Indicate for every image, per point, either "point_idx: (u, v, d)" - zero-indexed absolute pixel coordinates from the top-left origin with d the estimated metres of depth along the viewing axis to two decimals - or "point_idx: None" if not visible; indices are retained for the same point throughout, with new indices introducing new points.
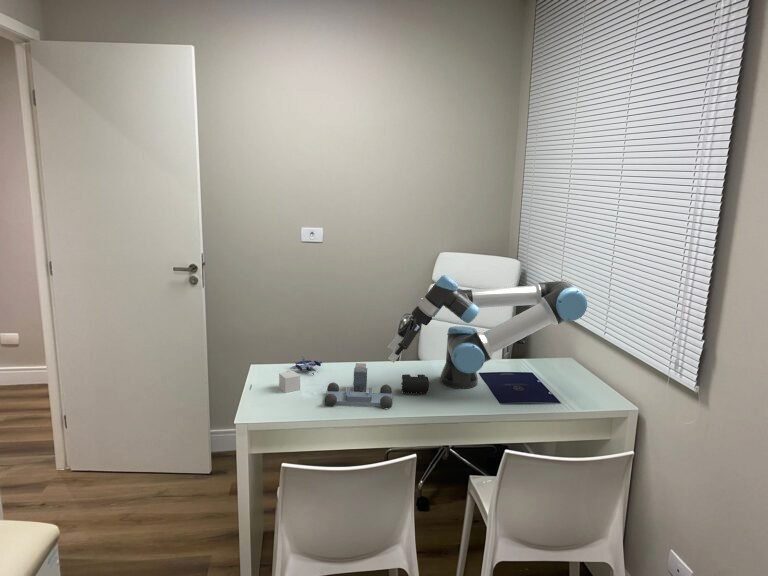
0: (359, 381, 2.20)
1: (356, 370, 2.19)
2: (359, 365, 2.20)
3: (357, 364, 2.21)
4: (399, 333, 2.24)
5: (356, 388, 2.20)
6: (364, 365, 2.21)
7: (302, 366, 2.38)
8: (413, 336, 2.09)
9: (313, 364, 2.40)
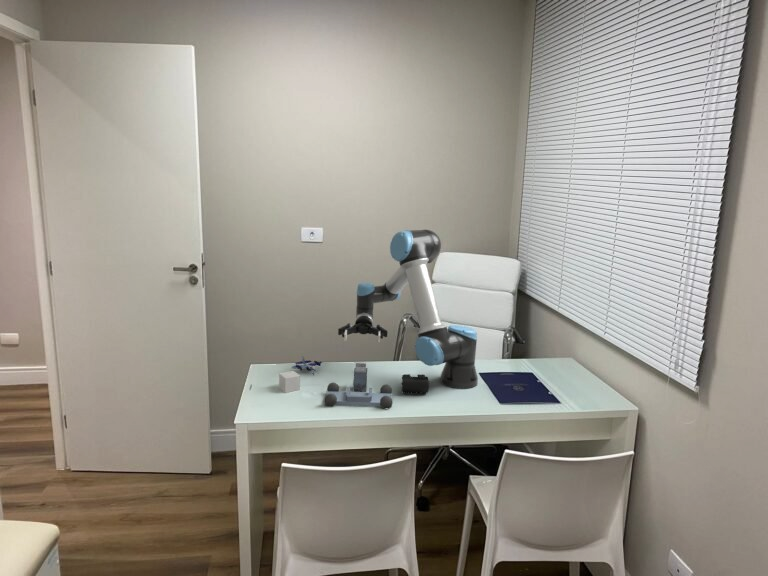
0: (359, 381, 2.20)
1: (356, 370, 2.19)
2: (359, 365, 2.20)
3: (357, 364, 2.21)
4: None
5: (356, 388, 2.20)
6: (364, 365, 2.21)
7: (302, 366, 2.38)
8: None
9: (313, 364, 2.40)
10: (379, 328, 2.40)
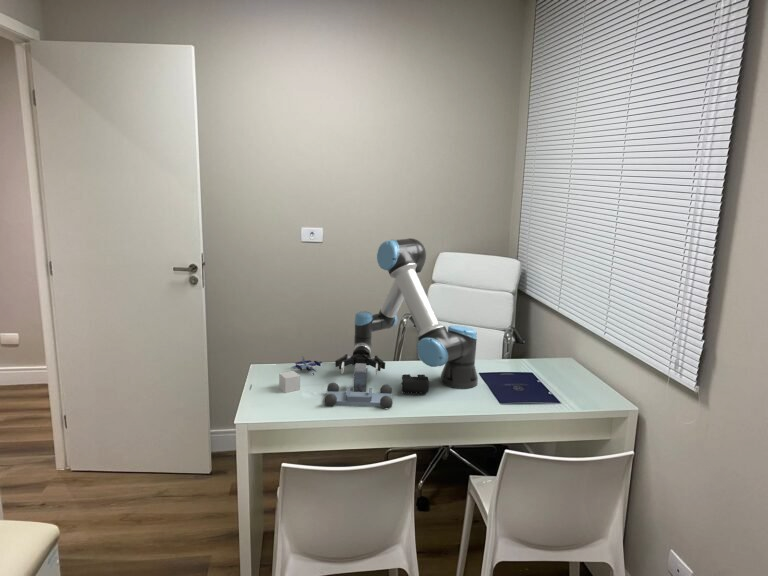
0: (359, 381, 2.20)
1: (356, 370, 2.19)
2: (359, 365, 2.20)
3: (357, 364, 2.21)
4: None
5: (356, 388, 2.20)
6: (364, 365, 2.21)
7: (302, 366, 2.38)
8: None
9: (313, 364, 2.40)
10: (377, 359, 2.37)
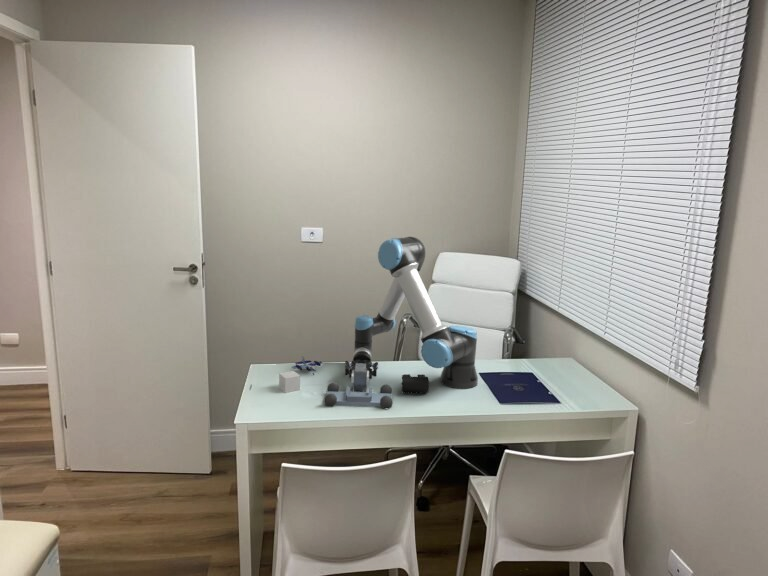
0: (359, 381, 2.20)
1: (356, 370, 2.19)
2: (359, 365, 2.20)
3: (357, 364, 2.21)
4: None
5: (356, 388, 2.20)
6: (364, 365, 2.21)
7: (302, 366, 2.38)
8: (345, 365, 2.29)
9: (313, 364, 2.40)
10: (373, 366, 2.29)
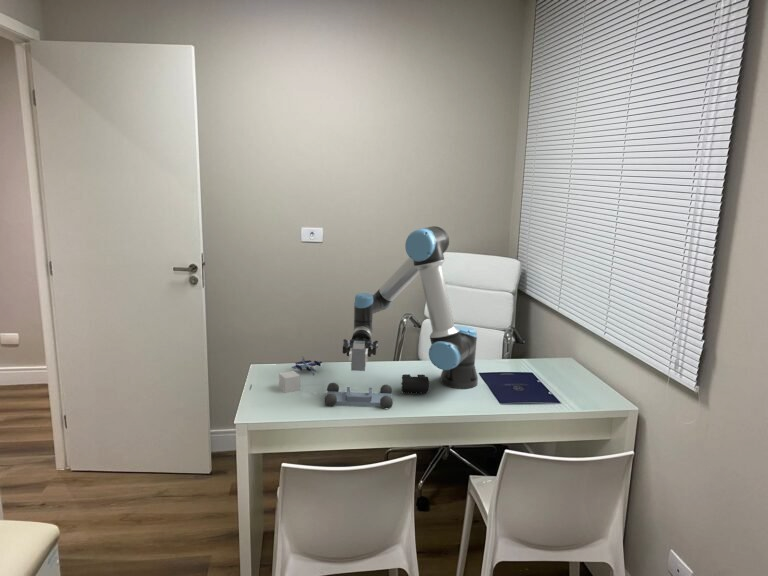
0: (357, 359, 2.08)
1: (354, 347, 2.08)
2: (357, 342, 2.09)
3: (355, 341, 2.10)
4: None
5: (354, 367, 2.09)
6: (363, 342, 2.09)
7: (302, 366, 2.38)
8: (344, 344, 2.18)
9: (313, 364, 2.40)
10: (373, 344, 2.17)
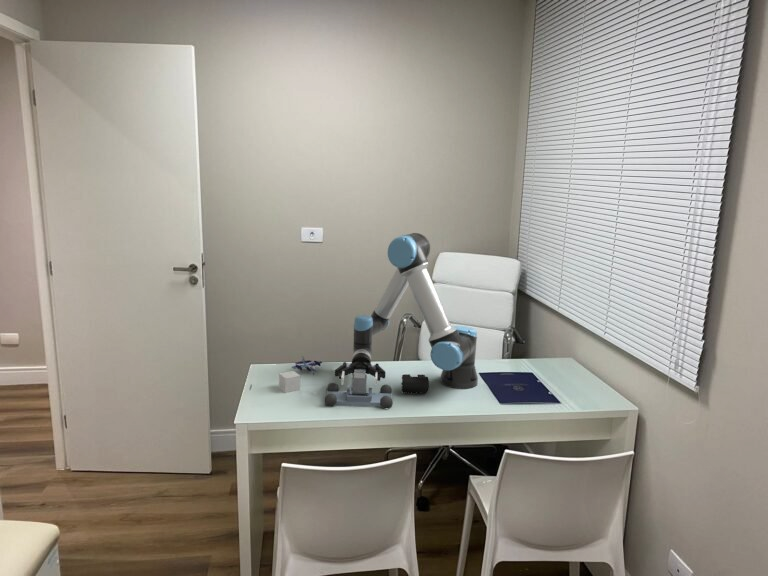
0: (357, 388, 2.09)
1: (355, 377, 2.08)
2: (358, 371, 2.09)
3: (356, 370, 2.10)
4: None
5: None
6: (363, 371, 2.10)
7: (302, 366, 2.38)
8: None
9: (313, 364, 2.40)
10: (377, 368, 2.18)
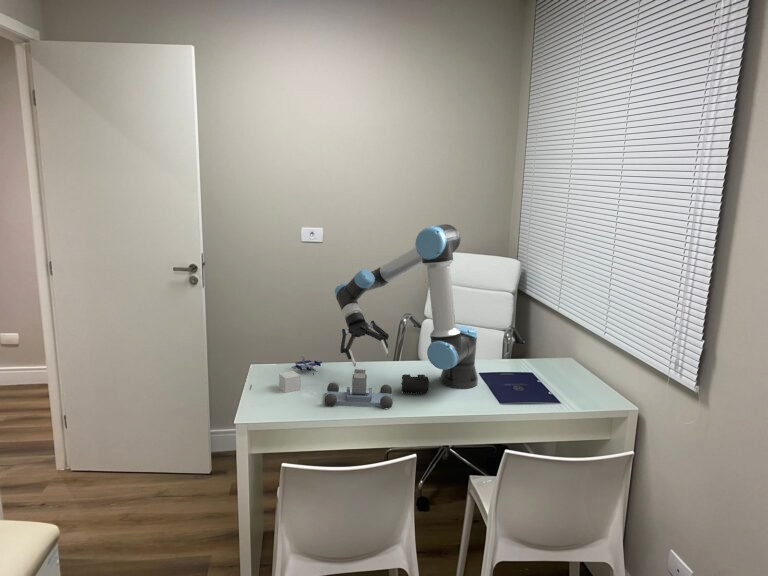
0: (357, 388, 2.09)
1: (355, 377, 2.08)
2: (358, 371, 2.09)
3: (356, 370, 2.10)
4: None
5: None
6: (363, 371, 2.10)
7: (302, 366, 2.38)
8: (342, 338, 2.29)
9: (313, 364, 2.40)
10: (377, 329, 2.32)
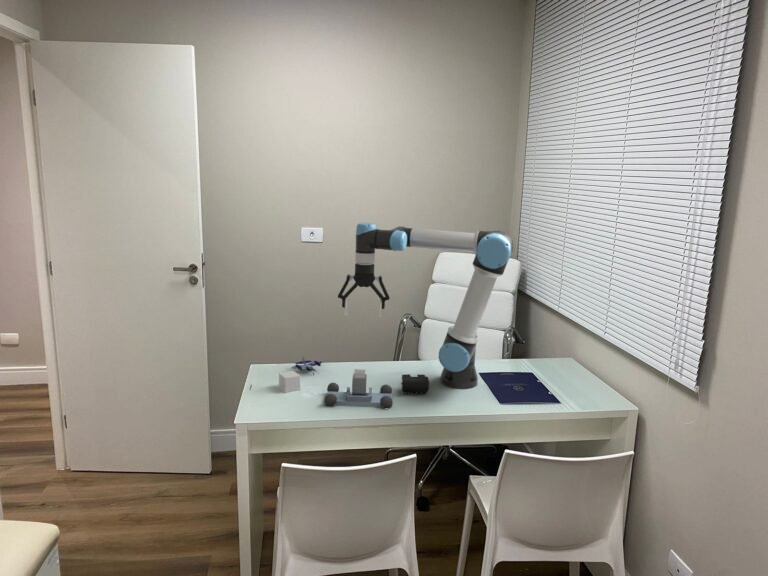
0: (357, 388, 2.09)
1: (355, 377, 2.08)
2: (358, 371, 2.09)
3: (356, 370, 2.10)
4: None
5: None
6: (363, 371, 2.10)
7: (302, 366, 2.38)
8: None
9: (313, 364, 2.40)
10: (381, 287, 2.24)
